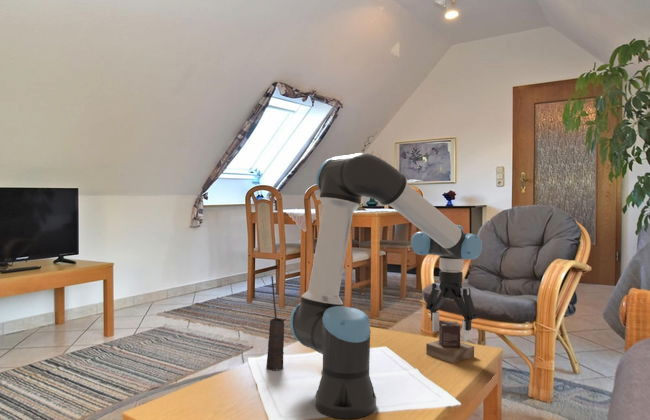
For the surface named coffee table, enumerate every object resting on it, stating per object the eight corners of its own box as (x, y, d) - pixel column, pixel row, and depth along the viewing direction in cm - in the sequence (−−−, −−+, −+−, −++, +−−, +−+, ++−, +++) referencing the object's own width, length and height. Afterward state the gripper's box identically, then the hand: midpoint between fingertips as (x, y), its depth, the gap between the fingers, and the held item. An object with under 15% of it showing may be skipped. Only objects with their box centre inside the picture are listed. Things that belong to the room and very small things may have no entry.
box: (457, 342, 155) (457, 321, 155) (460, 348, 149) (460, 325, 149) (438, 342, 155) (439, 320, 155) (441, 347, 149) (441, 325, 149)
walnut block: (452, 364, 145) (452, 352, 145) (426, 355, 154) (426, 343, 154) (474, 358, 151) (474, 346, 151) (447, 349, 160) (447, 338, 160)
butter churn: (299, 366, 140) (300, 276, 140) (280, 376, 132) (281, 280, 132) (277, 360, 145) (278, 273, 145) (256, 369, 137) (257, 276, 137)
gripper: (489, 274, 145) (488, 342, 145) (430, 265, 164) (429, 326, 164) (475, 276, 140) (474, 346, 140) (416, 267, 159) (415, 329, 159)
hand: (450, 335), depth 152 cm, fingers open, 11 cm apart
